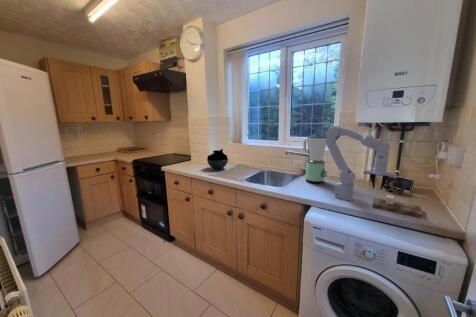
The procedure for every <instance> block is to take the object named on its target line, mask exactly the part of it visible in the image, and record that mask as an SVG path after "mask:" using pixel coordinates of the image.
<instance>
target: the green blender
mask: <svg viewBox="0 0 476 317" xmlns="http://www.w3.org/2000/svg"><path fill="white" fill-rule="evenodd" d="M326 138H327V136H323V135H320V134H319V135H310V136H307V138H304V139H303V147H302V148H303V152H304V153H306V154H308V160H307V161H306V166H305V182H306V183H309V182H310V183H315V184H316V185H318V184H319V183H323V182H324V180H325V178H326V177H327V174H328V171H327V170H326V168H325V167H326V164H325V160H323V159H324V156H325V152H326V147H327V144H326Z"/></svg>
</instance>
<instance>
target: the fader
mask: <svg viewBox="0 0 476 317" xmlns="http://www.w3.org/2000/svg"><path fill="white" fill-rule="evenodd" d="M394 198H395V196H394V195H390V194H387V195H386V198H385V200H386V204H391V205H393V201H394V200H395V199H394Z"/></svg>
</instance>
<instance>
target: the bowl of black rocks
mask: <svg viewBox="0 0 476 317" xmlns="http://www.w3.org/2000/svg"><path fill="white" fill-rule="evenodd" d="M223 150H224V149H223V148H221V149H219V150H217V149H215V150H213V151H212V153H211V154H208V155H207V159H206V161H207V164H208V166H209V167H210V168H212V169H214V170H222V169H223V168H225V167H226V166H227V165H228V161H229V158H228V155H226V154H225V153H224V152H223Z"/></svg>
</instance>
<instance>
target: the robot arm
mask: <svg viewBox="0 0 476 317" xmlns="http://www.w3.org/2000/svg"><path fill="white" fill-rule="evenodd" d="M326 137H327V138H326V147H327V148H328V150H329V153H330V155H331V157H332V160H333V162H334V163H335V165H336V167H337V169H338V175H339V181H336V183H335V188H334V190H335V191H334V198H336V199H341V200H344V201H345V200H346V201H350V202H352V201H353V200H354V198H355V196H354V194H353V193H354V187H355V186H354V185H355V183H354V181H355V180H356V174H355V173H354V172H353V171H352V170H351V168H350V167H349V166H348V165H347V162H346V161H345V159H344V157H343V154H342V152H341V150H340V149H339V146H338V143H337V141H338V140H339V138H340V137H349V138H352V139H354V140H355V141H356V140H357V141H359V142H360V143H361V145H362V146H365V147H367V148H369V149H372V150H375V151H376V152H375V156H374V163H373V170H372V169H371V170H370V169H368V170H367V169H363V171H362V172H363V175H369V178H370V181H371V185H372V189H375V186H376V184H375V183H376V176H379V177H382V179H381V184H380V185H381V186H380V190H383V188H384V187H383V186H384V185H385V182H388V180H389V178H394V179H397V176H398V175H397V173H392V172H387V170H388V164H389V163H388V162H389V155H390V152H389V151H390V150H391V144H390V143H389V142H387V141H386V140H384V141H383V139H378V138H376V137H374V136H373V135H372V134H369V135H368V134H366V135H362V134H360V133H358V132H356V131H354V130H351V129H350V128H346V127H342V126H340V125H335V126H334V125H333V126H330V127H329V128H328V129H327V131H326Z"/></svg>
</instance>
